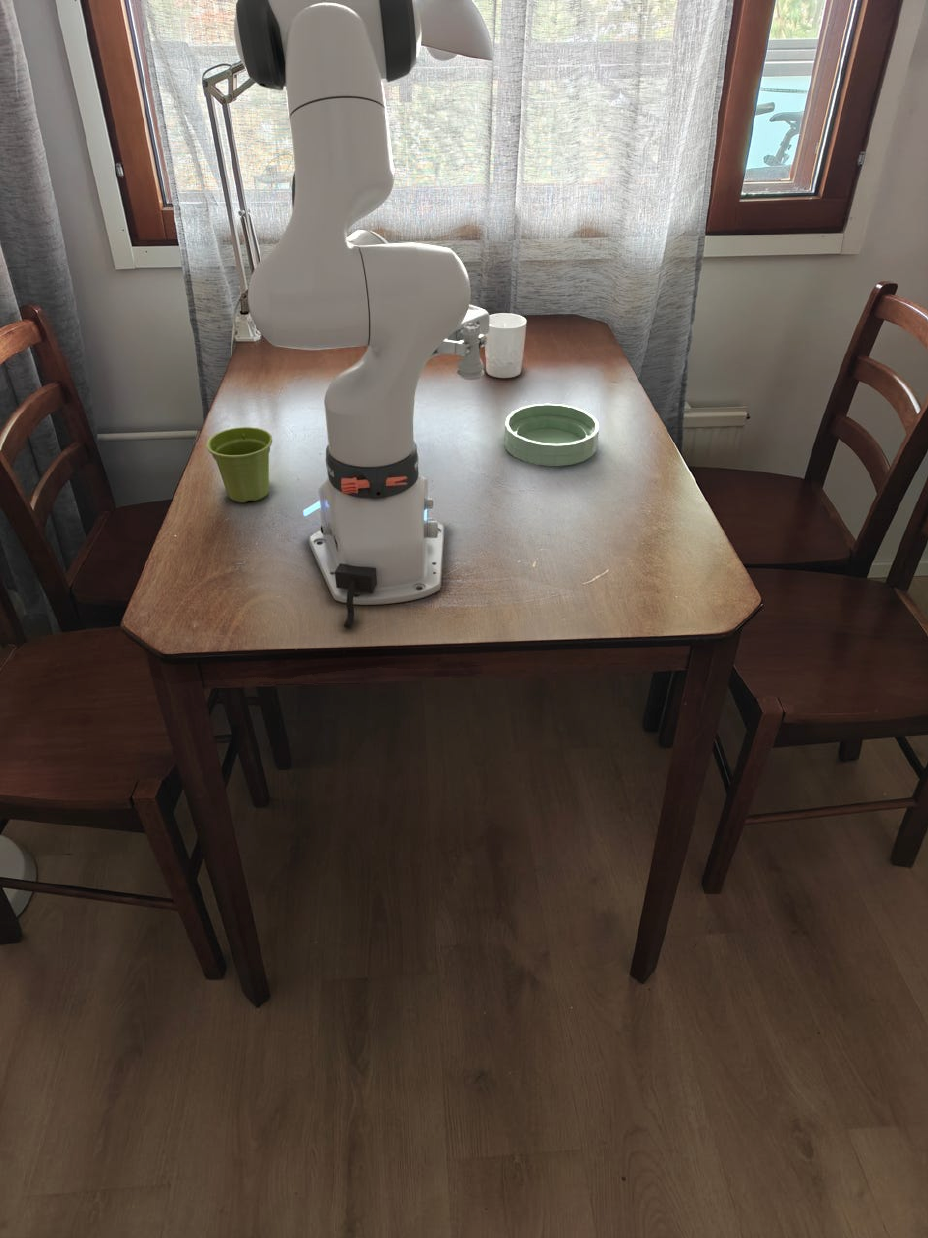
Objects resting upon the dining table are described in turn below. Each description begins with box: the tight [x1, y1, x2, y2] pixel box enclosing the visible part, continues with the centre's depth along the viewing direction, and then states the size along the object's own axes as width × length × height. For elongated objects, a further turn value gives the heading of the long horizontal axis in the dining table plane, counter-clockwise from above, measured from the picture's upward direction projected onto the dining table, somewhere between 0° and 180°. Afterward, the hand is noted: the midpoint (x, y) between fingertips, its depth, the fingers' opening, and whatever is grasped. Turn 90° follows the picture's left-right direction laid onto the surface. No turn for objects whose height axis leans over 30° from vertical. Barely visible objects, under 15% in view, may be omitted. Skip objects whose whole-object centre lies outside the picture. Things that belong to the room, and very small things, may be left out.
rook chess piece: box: [456, 323, 485, 381], centre depth 138 cm, size 4×4×8 cm
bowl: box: [503, 403, 600, 467], centre depth 143 cm, size 15×15×4 cm
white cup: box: [484, 312, 527, 379], centre depth 166 cm, size 8×8×10 cm
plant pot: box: [206, 426, 273, 503], centre depth 130 cm, size 9×9×9 cm
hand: (475, 345), depth 137 cm, fingers closed on rook chess piece, 3 cm apart
